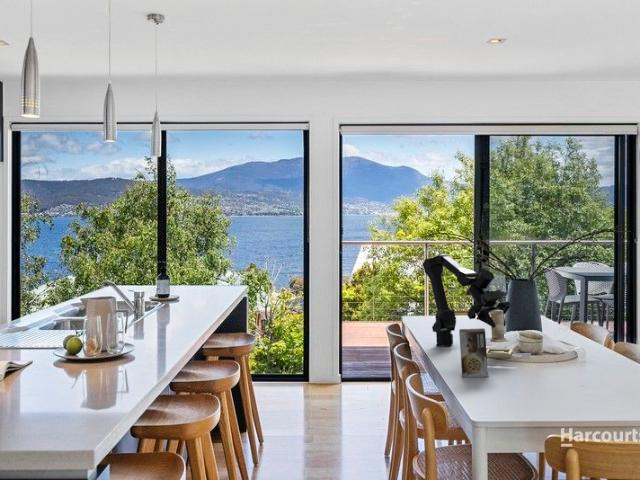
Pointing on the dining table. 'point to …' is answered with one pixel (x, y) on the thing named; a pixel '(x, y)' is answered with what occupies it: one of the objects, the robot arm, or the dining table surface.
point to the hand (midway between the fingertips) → (499, 326)
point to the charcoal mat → (524, 356)
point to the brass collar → (502, 355)
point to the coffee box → (473, 352)
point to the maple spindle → (497, 326)
